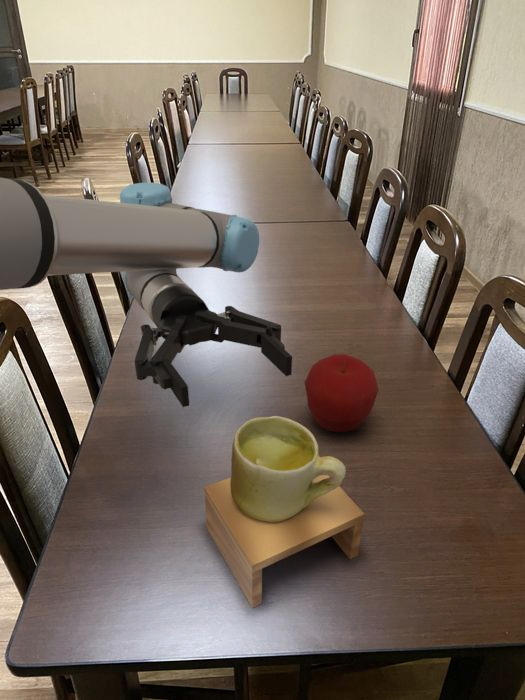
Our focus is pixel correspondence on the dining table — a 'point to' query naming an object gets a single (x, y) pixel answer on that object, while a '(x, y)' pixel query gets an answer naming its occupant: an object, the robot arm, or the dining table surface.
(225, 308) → the robot arm
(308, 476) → the mug
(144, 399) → the dining table surface
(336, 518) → the shelf
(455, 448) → the dining table surface
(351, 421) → the apple
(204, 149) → the dining table surface
